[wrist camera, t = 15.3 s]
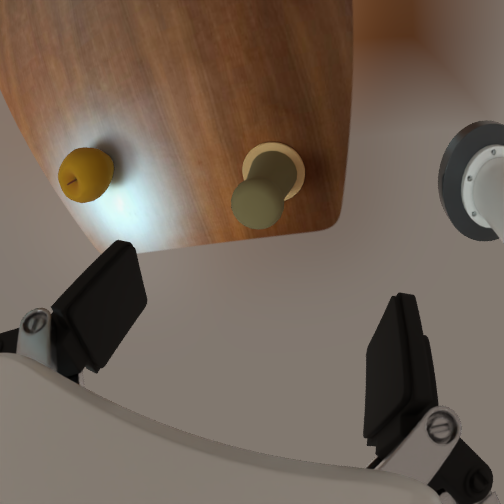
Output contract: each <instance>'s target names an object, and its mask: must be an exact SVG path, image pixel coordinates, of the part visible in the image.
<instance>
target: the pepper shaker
mask: <svg viewBox="0 0 504 504" xmlns="http://www.w3.org/2000/svg"><path fill="white" fill-rule="evenodd" d="M296 180H297V170H296V166H295V164H294V163H293V161H292V160H291V158H289V157H288V156H287V155H286V154H284V153H281V152H279V151H266V152H263V153H261V154H259V155H258V156H256V158H255V159H254V160H253V161H252V164H251V167H250V170H249V173H248V176H247V179H246V180H245V181H243V182H242V183H240V184H239V185H238V187H237V188H236V189H235V190H234V192H233V195H232V199H231V208H232V211H233V213H234V216H235V217H236V218H237V219H238V221H239V222H240V223H242V224H243V225H244V226H246V227H249V228H252V229H265V228H268V227H270V226H272V225H274V224H275V223H276V222H277V221H278V219H279V218H280V217H281V215H282V212H283V209H284V198H285V197H286V196H287V194H288V193H289V192H290V190H291V189H292V188H293V186H294V184H295V182H296Z"/></svg>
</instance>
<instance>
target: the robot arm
mask: <svg viewBox="0 0 504 504" xmlns="http://www.w3.org/2000/svg"><path fill="white" fill-rule="evenodd" d="M491 151H492V152H491ZM468 176H469V177H468ZM461 197H462V202H463V205H464V208H465V210H466V212H467V213H468V215H469V216H470V217H471V219H472V220H473V221H474V222H475V223H477V224H479V225H480V226H483V227H486V228H492V229H493V230H494V231H495V233H496V234H497V235H498V237H499V238H500V239H501V240H502V242H503V243H504V145H499V144H494V145H489V146H486V147H484V148H482V149H480V150H479V151H478V152H477V153H476V154H475V155H474V156H473V157H472V158H471V160H470V161H469V162H468V164H467V166H466V168H465V171H464V174H463V177H462V183H461ZM146 304H147V296H146V292H145V288H144V284H143V280H142V276H141V271H140V267H139V263H138V258H137V254H136V250H135V248H134V247H133V245H132V244H131V243H130V242H126V241H121V240H116V241H115V242H114V243H113V244H112V245H111V246H110V247H109V248H108V249H106V250H105V251H104V252H103V253H102V254H101V255H100V256H99V257H98V258H97V259H96V260H95V261H94V262H93V263H92V264H91V265H90V266H89V267H88V268H87V269H86V270H85V271H84V272H83V273H82V274H81V275H80V276H79V277H78V278H77V279H76V280H75V282H74V283H73V284H72V285H71V286H70V287H69V288H68V289H67V290H66V291H65V292H64V293H63V294H62V295H61V296H60V298H58V300H57V301H56V302H55V303H54V304H53V305H52V306H51V308H52V310H53V313H52V314H50V312H49V311H48V310H47V309H45V308H36V309H34V310H31V311H30V312H28V313H27V314H26V315H25V316H24V317H23V319H22V320H21V323H20V327H19V328H17V329H14V330H10V331H7V332H4V333H0V504H500V502H499V499H498V497H497V495H496V493H495V492H493V493H492V492H491V488H492V483H493V475H492V471H491V469H490V468H489V466H488V465H487V464H486V463H485V462H484V461H483V460H482V459H481V458H480V457H479V456H478V455H477V454H476V453H475V452H474V451H473V450H472V449H471V448H470V447H469V446H468V445H467V444H466V443H465V442H464V441H463V440H462V439H461V438H460V435H461V430H462V426H461V421H460V419H459V417H458V415H457V414H456V413H455V412H454V411H453V410H452V409H450V408H449V407H445V406H438V396H437V388H436V380H435V373H434V366H433V360H432V354H431V349H430V343H429V339H428V337H427V336H426V335H423V331H422V325H421V320H420V316H419V311H418V306H417V302H416V298H415V296H414V295H411V294H405V293H398V294H397V296H392V297H391V299H390V301H389V303H388V306H387V308H386V310H385V312H384V315H383V317H382V319H381V321H380V323H379V325H378V327H377V329H376V331H375V334H374V336H373V337H372V339H371V341H370V343H369V345H368V348H367V353H366V396H365V397H366V398H365V416H364V431H363V436H364V438H367V446H376V455H377V456H376V457H375V458H374V459H373V460H372V461H371V462H370V463H369V464H368V465H367V466H366V467H365V468H356V467H347V466H337V465H329V464H321V463H314V462H307V461H301V460H295V459H289V458H283V457H278V456H273V455H267V454H263V453H259V452H254V451H250V450H246V449H242V448H238V447H233V446H230V445H226V444H223V443H219V442H216V441H212V440H209V439H205V438H202V437H199V436H196V435H193V434H190V433H187V432H184V431H181V430H179V429H176V428H173V427H170V426H167V425H165V424H162V423H160V422H157V421H155V420H152V419H150V418H147V417H145V416H142V415H140V414H138V413H135V412H133V411H131V410H129V409H127V408H124V407H122V406H120V405H118V404H116V403H114V402H112V401H109V400H107V399H105V398H103V397H101V396H99V395H97V394H95V393H93V392H92V391H90V390H88V389H86V388H85V387H84V379H83V369H84V367H86V368H87V369H88V370H90V371H92V372H94V373H98V371H99V370H100V368H103V367H104V366H105V365H106V364H107V362H108V361H109V359H110V358H111V356H112V354H113V353H114V352H115V350H116V349H117V347H118V346H119V344H120V343H121V341H122V340H123V338H124V337H125V335H126V334H127V333H128V331H129V329H130V328H131V326H132V325H133V324H134V322H135V321H136V319H137V318H138V317H139V315H140V314H141V312H142V311H143V310H144V308H145V307H146Z"/></svg>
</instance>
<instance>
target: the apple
mask: <svg viewBox="0 0 504 504" xmlns="http://www.w3.org/2000/svg"><path fill="white" fill-rule="evenodd" d="M113 173H114V163H113V161H112V159H111V157H110V156H109V155H108V154H106V153H104V152H103V151H101V150H99V149H97V148H78V149H75V150H74V151H72V152H71V153H70V154H68V155H67V157H66V158H65V159H64V160H63V162H62V164H61V166H60V169H59V173H58V180H59V183H60V186H61V189H62V191H63V192H64V194H65V195H66V196H67V197H68V198H69V199H71V200H73V201H76V202H79V203H86V202H90V201H94V200H95V199H97V198H99V197H100V196H101V195H102V194H103V193H104V192H105V191H106V190H107V188H108V186H109V184H110V183H111V180H112V178H113Z"/></svg>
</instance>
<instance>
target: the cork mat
mask: <svg viewBox="0 0 504 504" xmlns="http://www.w3.org/2000/svg"><path fill="white" fill-rule="evenodd" d="M266 151H279V152H281V153H284V154H286V155H287V156H288V157H289V158H291V160H292V161H293V163H294V164H295V166H296V170H297V180H296V182H295V184H294V186H293V188H292V189H291V190H290V192H289V193H288V194H287V196H286V197H285V198H284V200H287V199H290V198H291V197H293V196H294V195H296V194H297V193H298V192H299V190H300V189H301V187H302V185H303V183H304V179H305V167H304V164H303V161H302V159H301V157H300V156H299V154H298V153H297V152H296V151H295V150H294V149H292V148H291V147H289V146H287V145H285V144H283V143H279V142H266V143H262V144H260V145H258V146H256V147H254V148H253V149H252V150H251V151H250V152H249V153H248V154H247V156H246V158H245V160H244V163H243V168H242V172H243V178H244V181H245V180H246V179H247V176H248V173H249V170H250V167H251V164H252V161H253V160H254V159H255V158H256V156H258V155H259V154H261V153H263V152H266Z"/></svg>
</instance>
